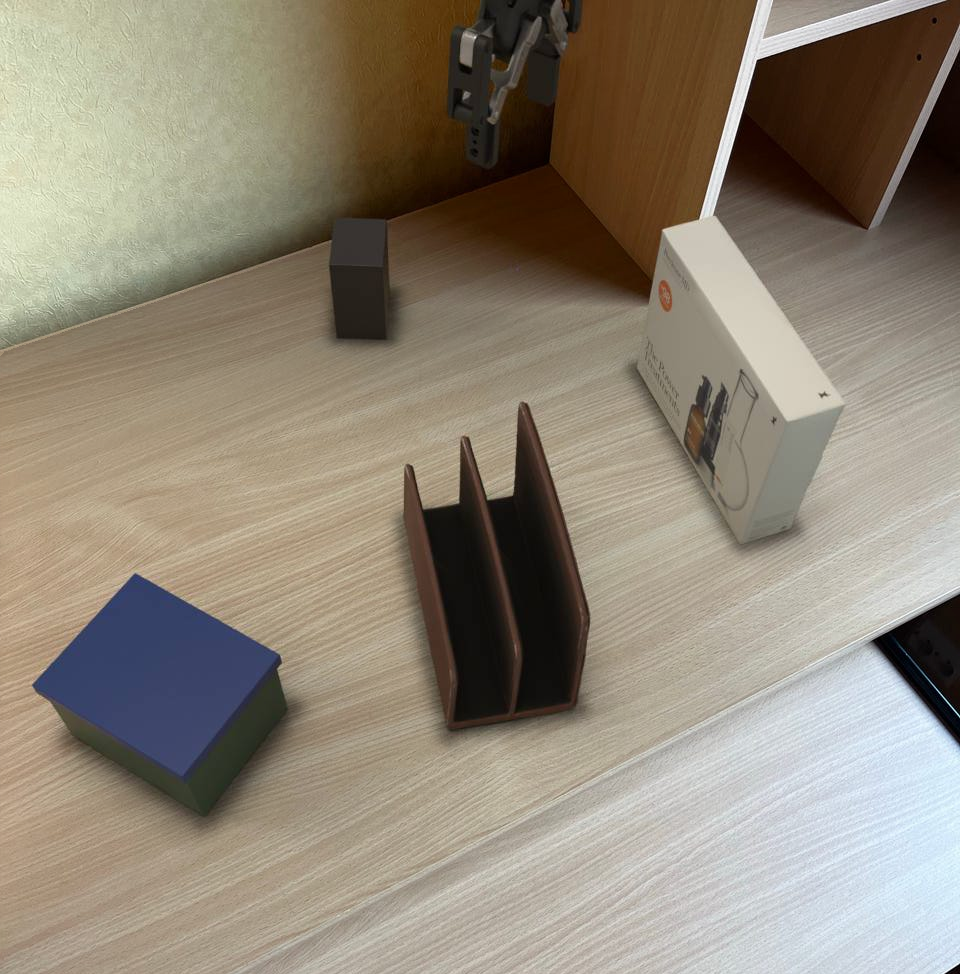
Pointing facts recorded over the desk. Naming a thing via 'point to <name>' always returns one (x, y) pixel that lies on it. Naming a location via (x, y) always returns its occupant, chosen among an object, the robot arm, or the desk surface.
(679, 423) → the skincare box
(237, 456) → the desk surface
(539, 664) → the letter holder
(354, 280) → the case
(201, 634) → the container
